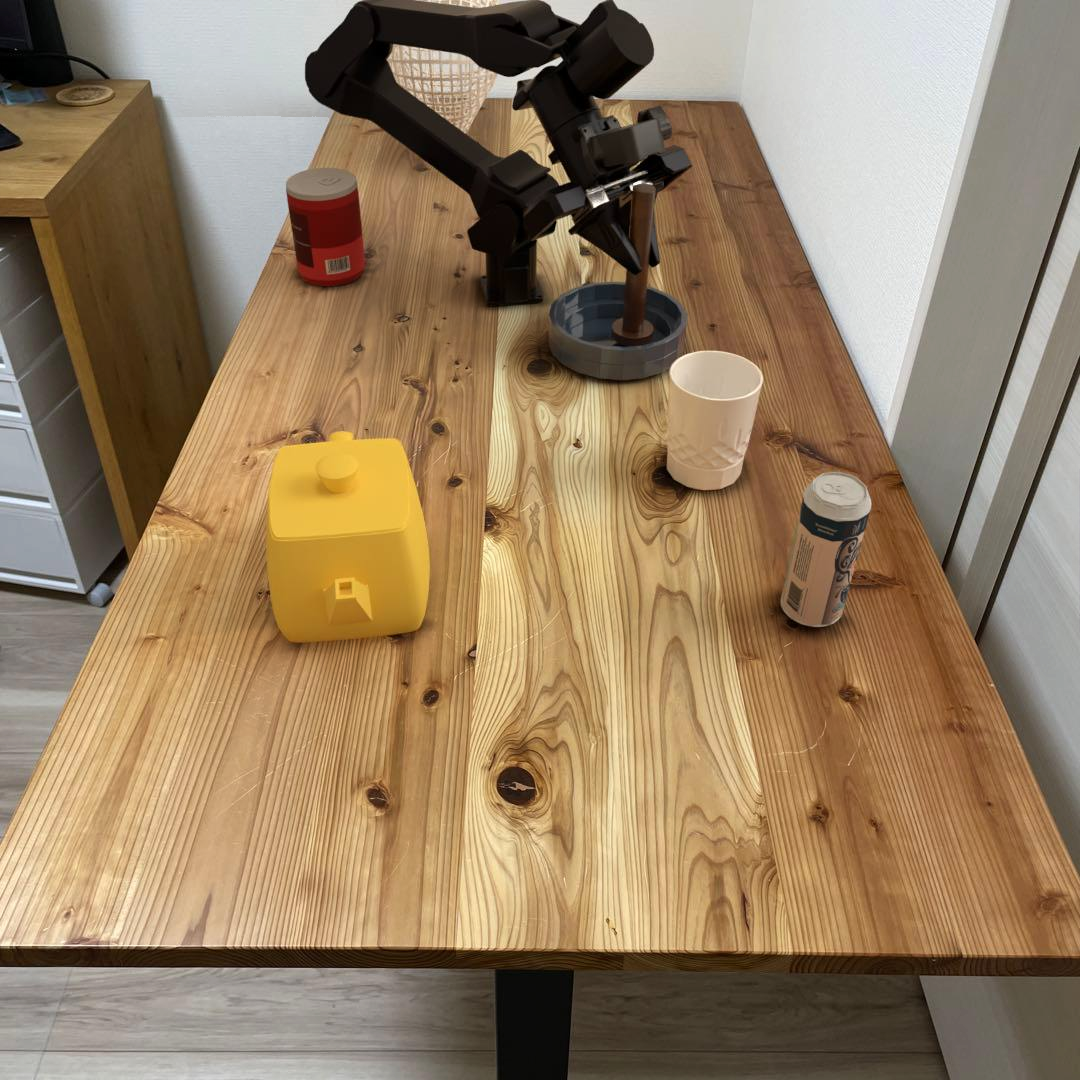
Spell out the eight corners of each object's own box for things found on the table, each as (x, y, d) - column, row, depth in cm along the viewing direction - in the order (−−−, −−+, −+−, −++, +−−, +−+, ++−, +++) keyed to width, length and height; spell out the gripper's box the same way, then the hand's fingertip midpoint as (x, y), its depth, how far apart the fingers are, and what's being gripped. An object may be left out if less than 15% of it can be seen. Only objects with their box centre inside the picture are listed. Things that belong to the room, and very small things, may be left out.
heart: (503, 185, 145) (501, 8, 131) (388, 185, 145) (373, 7, 130) (503, 113, 166) (501, -47, 152) (403, 113, 166) (391, -47, 151)
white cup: (754, 453, 99) (770, 359, 92) (737, 503, 93) (753, 407, 87) (671, 436, 101) (681, 343, 94) (650, 484, 95) (659, 389, 89)
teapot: (440, 677, 78) (431, 555, 70) (267, 694, 76) (238, 572, 69) (424, 505, 93) (415, 390, 85) (279, 517, 91) (256, 400, 84)
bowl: (538, 320, 117) (538, 286, 115) (663, 310, 119) (666, 277, 117) (562, 389, 107) (563, 355, 104) (699, 377, 109) (704, 343, 106)
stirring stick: (607, 343, 111) (617, 194, 100) (614, 322, 114) (624, 176, 104) (650, 348, 110) (664, 199, 100) (655, 327, 114) (669, 181, 103)
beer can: (841, 635, 81) (875, 513, 73) (778, 626, 82) (805, 504, 74) (841, 593, 85) (873, 472, 77) (780, 584, 85) (806, 464, 78)
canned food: (378, 264, 127) (369, 173, 120) (341, 293, 121) (330, 200, 114) (324, 251, 129) (312, 162, 122) (285, 279, 124) (271, 187, 117)
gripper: (544, 103, 93) (625, 264, 95) (688, 60, 103) (760, 207, 104) (488, 165, 103) (563, 310, 104) (624, 120, 112) (691, 254, 114)
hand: (647, 269), depth 106 cm, fingers closed on stirring stick, 2 cm apart
